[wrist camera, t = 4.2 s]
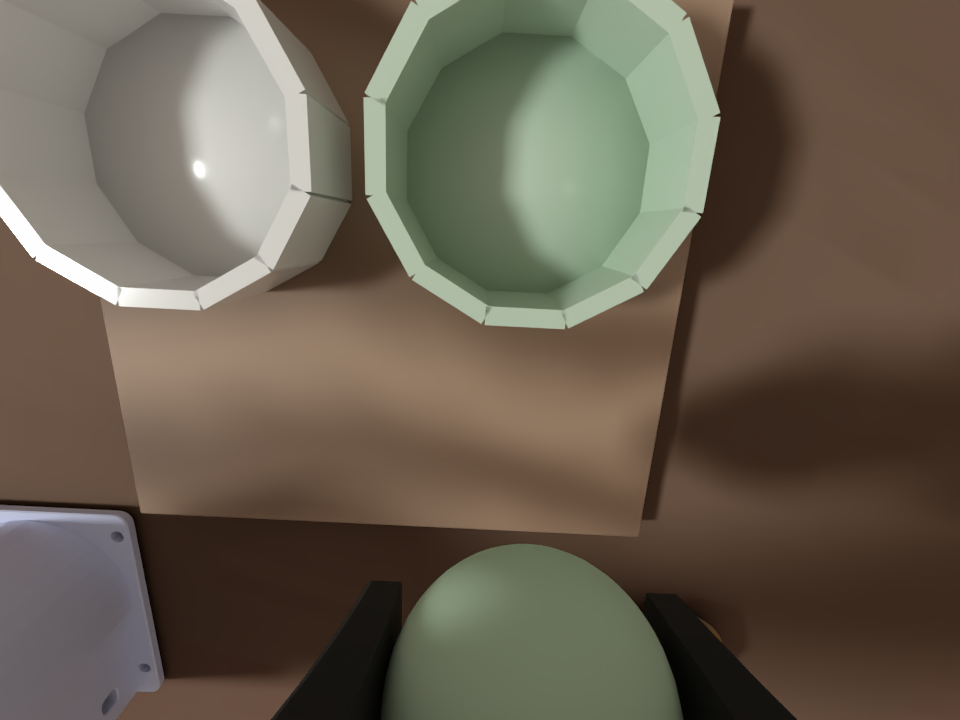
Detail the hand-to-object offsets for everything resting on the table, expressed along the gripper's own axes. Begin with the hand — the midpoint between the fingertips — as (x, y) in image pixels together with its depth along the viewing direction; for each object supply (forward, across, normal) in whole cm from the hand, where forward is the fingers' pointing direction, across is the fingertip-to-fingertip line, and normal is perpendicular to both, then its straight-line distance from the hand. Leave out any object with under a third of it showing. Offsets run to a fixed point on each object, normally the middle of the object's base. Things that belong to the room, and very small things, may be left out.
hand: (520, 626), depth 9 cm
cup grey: (+8, +10, -10) cm, 15 cm away
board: (+9, +4, -6) cm, 11 cm away
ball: (+1, 0, 0) cm, 1 cm away
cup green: (+8, 0, -10) cm, 12 cm away
